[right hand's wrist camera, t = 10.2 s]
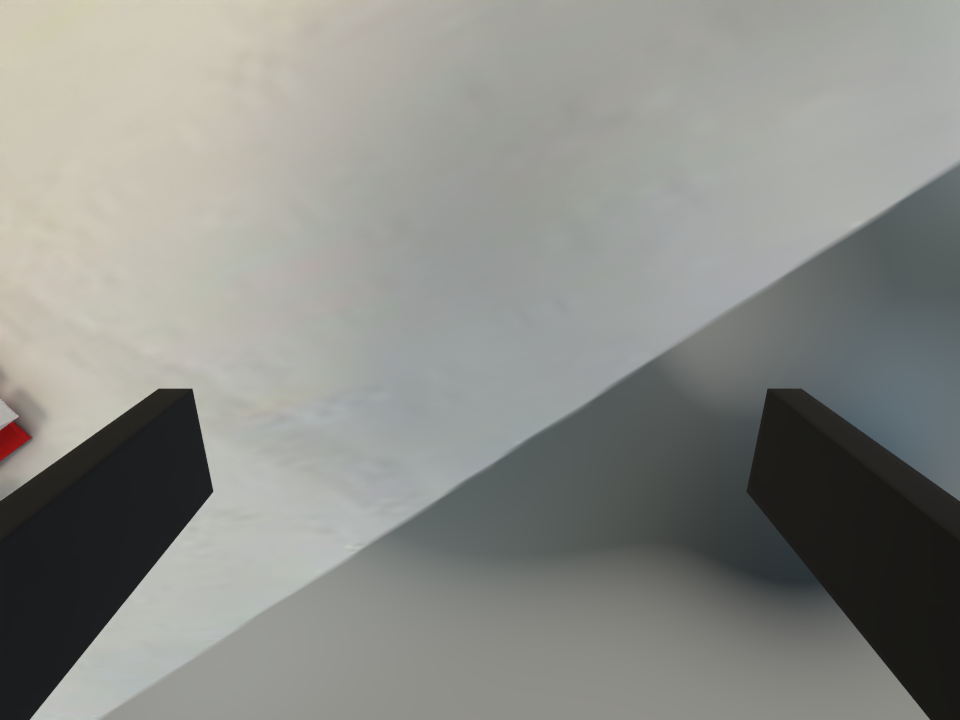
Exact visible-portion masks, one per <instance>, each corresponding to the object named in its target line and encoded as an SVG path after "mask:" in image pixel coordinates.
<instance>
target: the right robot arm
mask: <svg viewBox="0 0 960 720" xmlns="http://www.w3.org/2000/svg"><path fill="white" fill-rule="evenodd" d="M212 493H213V488H212V483H211V478H210V473H209V468H208V463H207V458H206V453H205V448H204V443H203V439H202V434H201V429H200V424H199V419H198V414H197V409H196V404H195V399H194V394H193V389H158V390H156V391H155V392H153V393H152V394H151V395H149V396H148V397H146V398H145V399H144V400H142V401H141V402H139V403H138V404H137V405H135V406H134V407H132V408H131V409H130V410H128V411H127V412H125V413H124V414H123V415H121V416H120V417H118V418H117V419H115V420H114V421H113V422H111V423H110V424H108V425H107V426H106V427H104V428H103V429H101V430H100V431H99V432H97V433H96V434H94V435H93V436H92V437H90V438H89V439H87V440H86V441H85V442H83V443H82V444H80V445H79V446H77V447H76V448H75V449H73V450H72V451H70V452H69V453H68V454H66V455H65V456H63V457H62V458H61V459H59V460H58V461H56V462H55V463H54V464H52V465H51V466H49V467H48V468H47V469H45V470H44V471H42V472H41V473H39V474H38V475H37V476H35V477H34V478H32V479H31V480H30V481H28V482H27V483H25V484H24V485H23V486H21V487H20V488H18V489H17V490H16V491H14V492H13V493H11V494H10V495H9V496H7V497H6V498H4V499H3V500H2V501H0V720H30V719H31V717H32V716H33V715H34V714H35V712H36V711H37V710H38V709H39V708H40V706H41V705H42V704H43V703H44V701H45V700H46V699H47V698H48V696H49V695H50V694H51V693H52V691H53V690H54V689H55V688H56V686H57V685H58V684H59V683H60V681H61V680H62V679H63V678H64V676H65V675H66V674H67V673H68V671H69V670H70V669H71V668H72V667H73V665H74V664H75V663H76V662H77V660H78V659H79V658H80V657H81V655H82V654H83V653H84V652H85V650H86V649H87V648H88V647H89V645H90V644H91V643H92V642H93V640H94V639H95V638H96V637H97V635H98V634H99V633H100V632H101V631H102V629H103V628H104V627H105V626H106V624H107V623H108V622H109V621H110V619H111V618H112V617H113V616H114V614H115V613H116V612H117V611H118V609H119V608H120V607H121V606H122V604H123V603H124V602H125V601H126V599H127V598H128V597H129V596H130V594H131V593H132V592H133V591H134V590H135V588H136V587H137V586H138V585H139V583H140V582H141V581H142V580H143V578H144V577H145V576H146V575H147V573H148V572H149V571H150V570H151V568H152V567H153V566H154V565H155V563H156V562H157V561H158V560H159V558H160V557H161V556H162V555H163V554H164V552H165V551H166V550H167V549H168V547H169V546H170V545H171V544H172V542H173V541H174V540H175V539H176V537H177V536H178V535H179V534H180V532H181V531H182V530H183V529H184V527H185V526H186V525H187V524H188V522H189V521H190V520H191V519H192V517H193V516H194V515H195V514H196V513H197V511H198V510H199V509H200V508H201V506H202V505H203V504H204V503H205V501H206V500H207V499H208V498H209V496H210V495H211V494H212ZM747 493H748V494H749V495H750V496H751V498H752V499H753V500H754V501H755V503H756V504H757V505H758V506H759V507H760V509H761V510H762V511H763V513H764V514H765V515H766V516H767V517H768V519H769V520H770V521H771V522H772V524H773V525H774V526H775V527H776V529H777V530H778V531H779V532H780V534H781V535H782V536H783V537H784V539H785V540H786V541H787V542H788V544H789V545H790V546H791V547H792V549H793V550H794V551H795V552H796V553H797V555H798V556H799V557H800V558H801V560H802V561H803V562H804V563H805V565H806V566H807V567H808V568H809V570H810V571H811V572H812V573H813V575H814V576H815V577H816V578H817V580H818V581H819V582H820V583H821V585H822V586H823V587H824V588H825V590H826V591H827V592H828V593H829V594H830V596H831V597H832V598H833V599H834V601H835V602H836V603H837V604H838V606H839V607H840V608H841V609H842V611H843V612H844V613H845V614H846V616H847V617H848V618H849V619H850V621H851V622H852V623H853V624H854V626H855V627H856V628H857V629H858V631H859V632H860V633H861V634H862V635H863V637H864V638H865V639H866V640H867V642H868V643H869V644H870V645H871V647H872V648H873V649H874V650H875V652H876V653H877V654H878V655H879V657H880V658H881V659H882V660H883V662H884V663H885V664H886V665H887V667H888V668H889V669H890V670H891V671H892V673H893V674H894V675H895V676H896V678H897V679H898V680H899V681H900V683H901V684H902V685H903V686H904V688H905V689H906V690H907V691H908V693H909V694H910V695H911V696H912V698H913V699H914V700H915V701H916V703H917V704H918V705H919V706H920V707H921V709H922V710H923V711H924V712H925V714H926V715H927V716H928V717H929V719H930V720H960V501H958V500H957V499H956V498H954V497H953V496H951V495H950V494H949V493H947V492H946V491H944V490H943V489H942V488H940V487H939V486H937V485H936V484H935V483H933V482H932V481H930V480H929V479H927V478H926V477H925V476H923V475H922V474H921V473H919V472H918V471H916V470H915V469H913V468H912V467H911V466H909V465H908V464H906V463H905V462H904V461H902V460H901V459H899V458H898V457H897V456H895V455H894V454H892V453H891V452H890V451H888V450H887V449H885V448H884V447H883V446H881V445H880V444H878V443H877V442H875V441H874V440H873V439H871V438H870V437H868V436H867V435H866V434H864V433H863V432H861V431H860V430H859V429H857V428H856V427H854V426H853V425H852V424H850V423H849V422H847V421H846V420H845V419H843V418H842V417H840V416H839V415H837V414H836V413H835V412H833V411H832V410H830V409H829V408H828V407H826V406H825V405H823V404H822V403H821V402H819V401H818V400H816V399H815V398H813V397H812V396H811V395H809V394H808V393H807V392H805V391H804V390H802V389H768V390H767V394H766V399H765V404H764V409H763V414H762V419H761V424H760V429H759V434H758V439H757V443H756V448H755V453H754V458H753V463H752V468H751V473H750V478H749V483H748V488H747Z"/></svg>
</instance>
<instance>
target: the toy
mask: <svg viewBox="0 0 960 720" xmlns="http://www.w3.org/2000/svg"><path fill="white" fill-rule="evenodd" d="M18 417H19V416H18V415H17V414H16V413H15V412H14V411H12V410H11V409H10V408H9V407H8V406H7V405H6V404H5V403H4V402H3V401H2V400H1V399H0V461H1V460H2V459H4V458H5V457H6V456H8V455H9V454H10V453H12V452H13V451H14V450H16V449H17V448H19V447H20V446H21V445H23V444H24V443H25V442H27V441H28V440H29V439H31V437H30V436H29V435H28V434H27V433H26V432H24V431H23V430H22V429H21V428H20V427H19V426H18V425H17V424H15V423H14V422H13V420H15V419H16V418H18Z"/></svg>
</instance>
